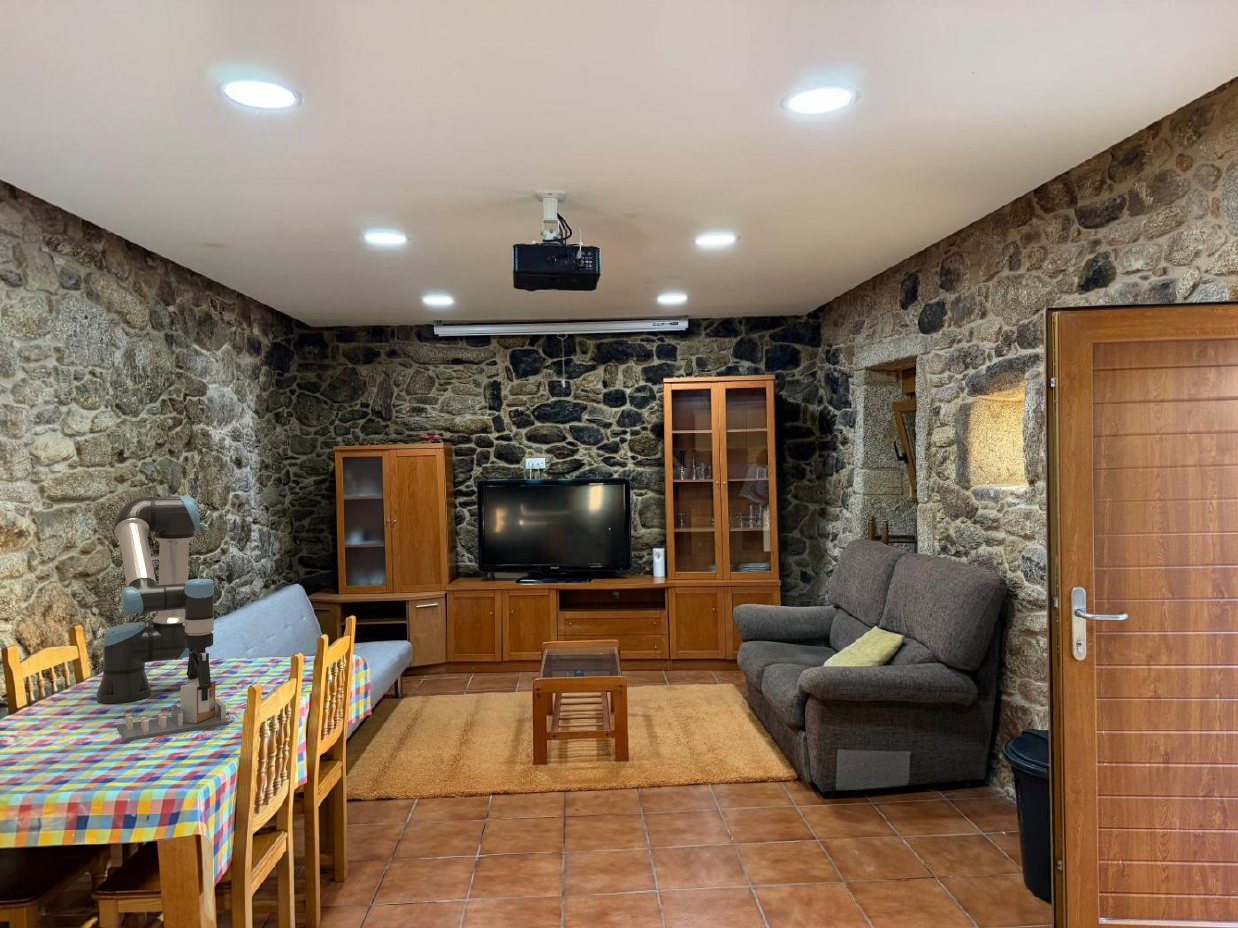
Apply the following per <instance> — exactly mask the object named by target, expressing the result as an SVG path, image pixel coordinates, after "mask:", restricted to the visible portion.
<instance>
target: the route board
mask: <svg viewBox="0 0 1238 928" xmlns="http://www.w3.org/2000/svg"><path fill="white" fill-rule="evenodd" d="M222 726H229V720H228V719H227V718H226V720H222V721H221V720H220V719H219V718H218V717H217V716H216V715H215V717H212V718H209V719H206V720H203V721H200V722H198V723H185V722H183V727H177V726H176V724H175V723H174V722H173V721H172V720H171V716H168V717H167V716H165V714H164V712H163V713H158V718H155V719H147V716H142V717H141V718H140V721H136V722H134V717H133V716H132V714H131V713H128V714H125V723H122V724H117V725H116V730H117V731H118V733H119V735H120V736H121V738H122V739H123V742H132V741H137V740H145V739H149V738H156V737H162V736H169V735H174V734H180V733H186V732H192V731H198V730H204V729H209V728H216V727H217V728H218V727H222Z"/></svg>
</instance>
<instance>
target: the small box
mask: <svg viewBox="0 0 1238 928" xmlns="http://www.w3.org/2000/svg"><path fill="white" fill-rule="evenodd" d="M211 685H212V686H211V688H209V711H208V712H201V713H198V690H197V687H199V681H195V682H192V683H189V684H188V683H187V684H186V683H185V684H182V685H180V707H179V709H180V710H181V711H182V712H183V722H185V723H198V722H200V721H203V720H206V719H209V718H212V717H215V699H216V680H212V679H211Z"/></svg>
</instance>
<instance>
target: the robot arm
mask: <svg viewBox="0 0 1238 928" xmlns="http://www.w3.org/2000/svg"><path fill="white" fill-rule="evenodd" d="M200 528H201V517H200V511H199V506H198V503H197V501H196V499H195V498H193V497H192V496H183V495H181V496H180V495H172V496H169V495H168V496H165V495H164V496H141V497H137V498H134V499H132V500H130V501H129V502H127V503H126V504H125V505H123V507H122V508H121V509H120V510H119V512H117V514H116V517H115V519H114V522H113V531H114V535H115V538H116V539H117V540H119V544H120V545H119V546H120V550H121V558H122V562H123V563H122V564H123V569H124V575H125V582H126V587H124V588H122V590H121V592H120V607H121V611H122V612H123V613H124V614H142V613H143V614H144V613H151V612H152V613H153V612H157V615H156V616H155V617H154V618H152V625H147V624H146V623H145V622H144V621H136V622H133V621H132V622H127V623H123V624H119V625H115V626H112V627H110V628H108V629H106V631H105V632H104V633H103V642H102V646H103V656H102V657H103V660H102V661H103V664H102V665H103V666H102V667H103V669H102V670H103V671H102V678H101V680H100V684H99V687H98V688H97V692H96V702H98V703H100V704H101V703H102V704H121V703H122V704H123V703H130V702H136V701H141V700H144V699H146V698H149V697H150V696H151V695H152V691H151V690H152V688H151V684H150V682H149V679H148V676H147V673H146V669H145V668H146V666H145V665H146V663H154V662H160V661H161V662H162V661H171V660H175V661H176V660H179V659H186V658H188V659H187V660H188V661H187V669H186V676H187V679H188V681H187V682H188V683H187V684H189V683H192V682H195V681H199V687H197V690H198V713H201V712H208V711H209V688H211V686H212V685H211V680H212V679H211V669H210V668H211V667H210V653H209V652H206V651H207V650H206V648H210V647H212V646H213V645H214V633H213V632H214V629H215V625H214V622H215V621H214V619H215V617H214V605H215V604H214V599H215V598H214V594H215V588H214V587H215V586H214V580H213V579H211V578H193V579H189V554H190V553H189V551H190V550H189V548H190V546H189V545H190V544H189V543H190V541H192V540H193V538H194V537H195V532H198V531H200ZM149 533H153V535H154V539H155V540H156V541H157V542H159V552H158V553H159V555H158V556H159V557H158V559H159V561H158V563H159V564H158V565H159V566H158V584H157V579H156V574H155V569H154V565H153V559H152V554H151V549H150V544H149V539H148V538H149V537H148V535H149Z"/></svg>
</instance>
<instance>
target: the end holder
mask: <svg viewBox="0 0 1238 928" xmlns="http://www.w3.org/2000/svg"><path fill="white" fill-rule="evenodd" d="M170 707H171V711H170V712H171V713H170V715H171V716H170V717H171V720H172V721H173V722H174V723H175V724H176V726H177V727H183V712H182V711H181V710H180V707H178V705H177V704H174V705H171V706H170ZM226 709H227V708H226V704H225V703H224V702H222V701H221V700H220V699H219V698H215V715H216V716H217V717H218V718H219V719H220V720H221V721H222V720H226V719H227V718H226V714H227V712H226Z"/></svg>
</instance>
